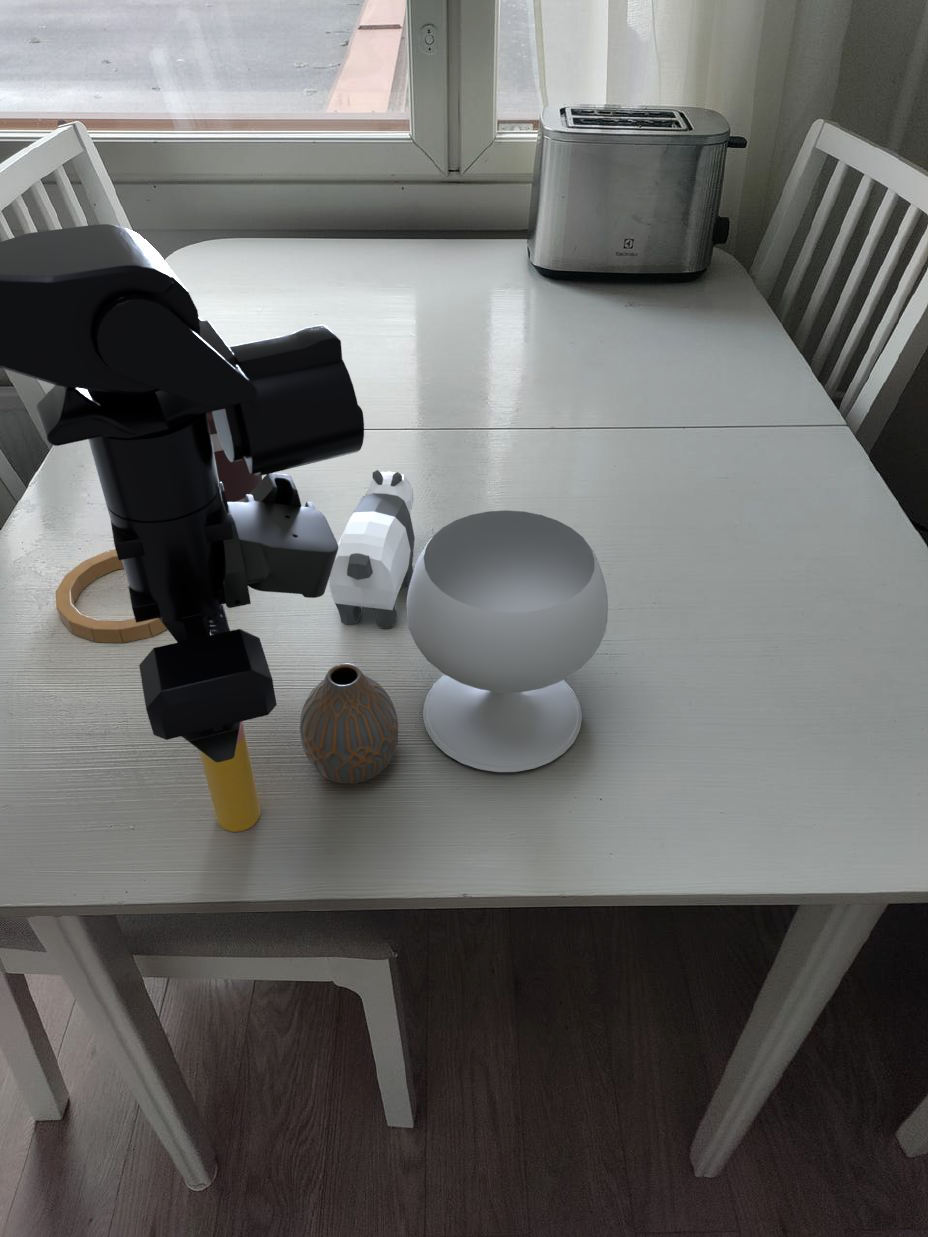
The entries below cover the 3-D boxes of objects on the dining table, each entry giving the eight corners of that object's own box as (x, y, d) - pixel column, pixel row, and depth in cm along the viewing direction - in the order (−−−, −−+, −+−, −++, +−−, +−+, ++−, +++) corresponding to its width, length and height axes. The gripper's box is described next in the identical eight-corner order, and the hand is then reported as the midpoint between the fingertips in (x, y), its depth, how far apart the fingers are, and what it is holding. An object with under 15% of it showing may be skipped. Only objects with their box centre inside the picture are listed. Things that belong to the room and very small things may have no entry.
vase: (355, 815, 66) (346, 727, 60) (285, 768, 69) (270, 681, 64) (419, 756, 70) (416, 668, 65) (350, 714, 74) (341, 627, 68)
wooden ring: (140, 658, 78) (136, 645, 77) (30, 619, 82) (25, 605, 81) (226, 578, 86) (223, 565, 86) (122, 546, 90) (118, 533, 89)
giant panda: (394, 639, 80) (389, 546, 74) (330, 631, 81) (319, 539, 75) (429, 539, 91) (427, 451, 85) (373, 533, 92) (367, 446, 86)
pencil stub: (244, 838, 65) (223, 748, 59) (207, 823, 66) (183, 732, 60) (269, 806, 67) (251, 716, 61) (233, 792, 68) (212, 702, 62)
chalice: (546, 638, 80) (558, 485, 71) (626, 755, 71) (653, 596, 61) (387, 678, 77) (377, 523, 67) (448, 808, 67) (447, 648, 57)
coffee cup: (266, 550, 90) (243, 404, 80) (161, 547, 90) (126, 402, 80) (284, 492, 97) (265, 353, 88) (187, 490, 98) (158, 351, 88)
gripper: (363, 562, 45) (380, 781, 55) (280, 389, 58) (305, 590, 68) (117, 613, 42) (182, 835, 52) (88, 418, 55) (144, 625, 65)
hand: (212, 706), depth 59 cm, fingers open, 9 cm apart
